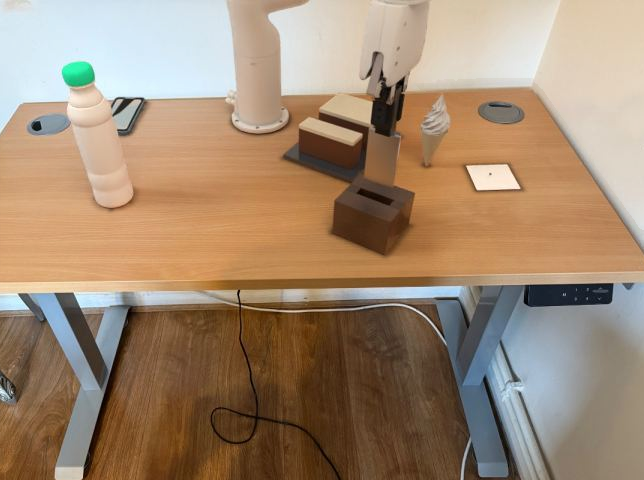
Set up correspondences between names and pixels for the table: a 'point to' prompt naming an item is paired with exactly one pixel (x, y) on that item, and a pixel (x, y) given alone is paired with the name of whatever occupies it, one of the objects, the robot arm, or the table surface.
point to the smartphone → (126, 112)
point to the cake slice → (330, 142)
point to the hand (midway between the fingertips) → (385, 121)
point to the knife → (383, 150)
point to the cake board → (328, 164)
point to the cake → (348, 114)
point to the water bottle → (96, 137)
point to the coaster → (492, 177)
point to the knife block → (372, 214)
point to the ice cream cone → (434, 128)
